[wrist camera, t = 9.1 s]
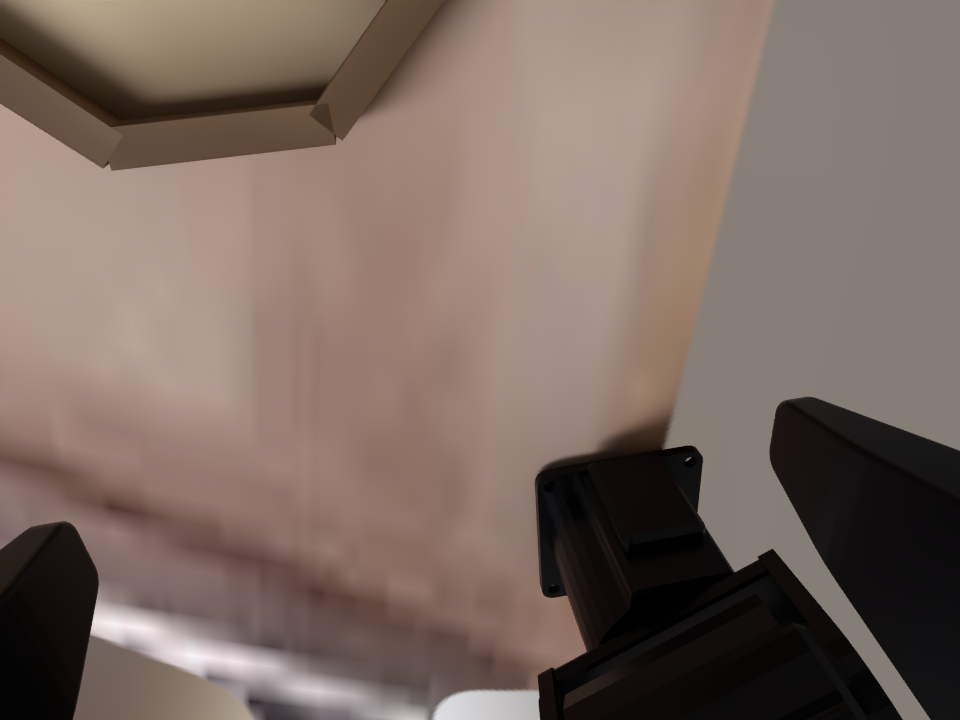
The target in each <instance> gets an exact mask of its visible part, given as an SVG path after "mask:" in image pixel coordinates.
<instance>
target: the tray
mask: <svg viewBox="0 0 960 720" xmlns="http://www.w3.org/2000/svg"><path fill="white" fill-rule="evenodd" d="M443 1H444V0H0V104H2V105H3V106H5V107H7V108H8V109H10V110H11V111H13V112H15V113H16V114H18V115H19V116H21V117H22V118H24V119H26V120H27V121H29V122H30V123H32V124H33V125H35V126H37V127H38V128H40V129H41V130H43V131H45V132H46V133H48V134H49V135H51V136H52V137H54V138H56V139H57V140H59V141H60V142H62V143H64V144H65V145H67V146H68V147H70V148H71V149H73V150H75V151H76V152H78V153H79V154H81V155H82V156H84V157H86V158H87V159H89V160H90V161H92V162H94V163H95V164H97V165H98V166H100V167H101V168H104V167H105V166H107V165H108V164H110V167H111V170H112V171H113V170H122V169H130V168H139V167H147V166H156V165H165V164H173V163H182V162H190V161H199V160H207V159H216V158H225V157H233V156H242V155H250V154H259V153H267V152H276V151H285V150H293V149H302V148H310V147H319V146H327V145H336V136H337V137H338V138H340V139H341V140H342V141H343V139H344V138H345V136H346V135H347V134H348V132H349V131H350V130H351V128H352V127H353V125H354V124H355V123H356V121H357V120H358V118H359V117H360V116H361V114H362V113H363V112H364V110H365V109H366V107H367V106H368V105H369V103H370V102H371V100H372V99H373V98H374V96H375V95H376V94H377V92H378V91H379V89H380V88H381V87H382V85H383V84H384V82H385V81H386V80H387V78H388V77H389V76H390V74H391V73H392V71H393V70H394V69H395V67H396V66H397V64H398V63H399V62H400V60H401V59H402V58H403V56H404V55H405V53H406V52H407V51H408V49H409V48H410V46H411V45H412V44H413V42H414V41H415V40H416V38H417V37H418V35H419V34H420V33H421V31H422V30H423V28H424V27H425V26H426V24H427V23H428V22H429V20H430V19H431V17H432V16H433V15H434V13H435V12H436V10H437V9H438V8H439V6H440V5H441V4H442V2H443Z"/></svg>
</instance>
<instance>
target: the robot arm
mask: <svg viewBox="0 0 960 720" xmlns="http://www.w3.org/2000/svg"><path fill="white" fill-rule="evenodd" d="M690 457H691V458H690ZM687 458H690V459H689V460H688V461H685V460H686V459H687ZM770 461H771V464H772V467H773V469H774V471H775V473H776V475H777V477H778V479H779V481H780V483H781V484H782V486H783V488H784V490H785V492H786V494H787V495H788V497H789V499H790V501H791V503H792V505H793V507H794V509H795V510H796V512H797V514H798V516H799V518H800V520H801V522H802V523H803V525H804V527H805V529H806V531H807V533H808V535H809V536H810V538H811V540H812V542H813V544H814V546H815V548H816V549H817V551H818V553H819V555H820V556H821V558H822V560H823V561H824V563H825V565H826V566H827V568H828V569H829V571H830V572H831V574H832V576H833V577H834V579H835V580H836V582H837V583H838V584H839V586H840V587H841V589H842V590H843V592H844V593H845V595H846V596H847V598H848V599H849V601H850V602H851V603H852V605H853V607H854V608H855V610H856V611H857V612H858V614H859V615H860V617H861V618H862V620H863V621H864V623H865V624H866V626H867V627H868V628H869V630H870V631H871V633H872V634H873V636H874V637H875V639H876V640H877V642H878V643H879V645H880V646H881V648H882V649H883V650H884V652H885V653H886V655H887V656H888V658H889V659H890V661H891V662H892V664H893V665H894V666H895V668H896V669H897V671H898V672H899V674H900V675H901V677H902V678H903V680H904V681H905V683H906V684H907V686H908V687H909V689H910V690H911V692H912V693H913V694H914V696H915V697H916V699H917V700H918V702H919V703H920V705H921V706H922V708H923V709H924V711H925V712H926V713H927V715H928V716H929V718H930V719H931V720H960V451H959V450H956V449H954V448H951V447H948V446H945V445H943V444H940V443H937V442H935V441H932V440H929V439H926V438H924V437H921V436H918V435H915V434H912V433H910V432H907V431H904V430H902V429H899V428H896V427H894V426H891V425H888V424H885V423H882V422H880V421H877V420H874V419H871V418H869V417H866V416H863V415H860V414H858V413H855V412H852V411H850V410H847V409H844V408H841V407H839V406H836V405H833V404H831V403H828V402H825V401H822V400H820V399H817V398H814V397H803V398H797V399H791V400H785V401H783V402H781V403H780V404H779V405H778V407H777V409H776V413H775V419H774V425H773V431H772V438H771V443H770ZM702 463H703V458H702V455H701V454H700V453H699V451H698V450H697V449H696V447H693V446H682V447H677V448H671V449H665V450H659V451H653V452H647V453H641V454H635V455H630V456H624V457H618V458H612V459H606V460H600V461H595V462H589V463H583V464H577V465H571V466H565V467H560V468H554V469H548V470H545V471H542V472H541V473H539V474H538V475H537V477H536V479H535V495H536V515H537V534H538V554H539V574H540V586H541V589H542V592H543V595H545V596H546V597H549V598H555V597H560V596H566V595H567V596H568V599H569V602H570V605H571V607H572V610H573V613H574V616H575V619H576V622H577V624H578V627H579V630H580V633H581V636H582V639H583V641H584V644H585V647H586V650H587V652H586V653H584V654H582V655H580V656H579V657H577V658H575V659H573V660H571V661H569V662H567V663H566V664H564V665H562V666H560V667H558V668H556V669H554V668H550V669H548V670H546V671H544V672H543V673H541V674H539V675H538V685H539V696H540V698H539V712H540V720H902V718H901V716H900V715H899V713H898V712H897V710H896V708H895V707H894V705H893V704H892V702H891V701H890V699H889V698H888V696H887V695H886V693H885V692H884V690H883V689H882V687H881V686H880V684H879V683H878V681H877V680H876V678H875V677H874V675H873V674H872V673H871V671H870V670H869V668H868V667H867V665H866V664H865V663H864V661H863V660H862V658H861V657H860V656H859V654H858V653H857V651H856V650H855V649H854V647H853V646H852V645H851V644H850V642H849V641H848V639H847V638H846V637H845V636H844V634H843V633H842V632H841V630H840V629H839V628H838V627H837V626H836V624H835V623H834V622H833V621H832V619H831V618H830V617H829V616H828V615H827V613H826V612H825V611H824V610H823V609H822V607H821V606H820V605H819V604H818V603H817V601H816V600H815V599H814V598H813V597H812V595H811V594H810V593H809V592H808V591H807V590H806V588H805V587H804V586H803V585H802V583H801V582H800V581H799V580H798V579H797V577H796V576H795V575H794V574H793V573H792V571H791V570H790V569H789V568H788V567H787V565H786V564H785V563H784V562H783V561H782V559H781V558H780V557H779V556H778V555H777V553H776V552H775V551H774V550H773V549H771V550H769V551H768V552H766V553H764V554H762V555H760V556H758V559H759V560H757V561H755V562H753V563H752V564H750V565H748V566H746V567H744V568H742V569H740V570H739V571H737V572H734V570H733V569H732V567H731V566H730V564H729V563H728V561H727V560H726V558H725V557H724V555H723V553H722V552H721V551H720V549H719V547H718V546H717V544H716V543H715V541H714V540H713V538H712V537H711V535H710V534H709V532H708V531H707V529H706V528H705V524H704V522H703V521H702V519H701V518H700V516H699V515H698V513H697V511H698V502H699V492H700V482H701V472H702ZM550 481H554V482H553V483H552V484H550V485H545V484H546V483H547V482H550ZM552 585H554V586H552ZM98 587H99V580H98V573H97V570H96V567H95V565H94V563H93V561H92V559H91V557H90V555H89V553H88V551H87V549H86V547H85V545H84V543H83V541H82V539H81V537H80V535H79V533H78V531H77V530H76V528H75V527H74V526H73V525H72V524H71V523H69V522H65V521H61V522H55V523H49V524H43V525H37V526H33V527H31V528H29V529H27V530H26V531H24V532H23V533H22V534H20V535H19V536H18V537H17V538H15V539H14V540H13V541H11V542H10V543H9V544H7V545H6V546H5V547H3V548H2V549H1V550H0V720H73V716H74V713H75V709H76V704H77V700H78V695H79V691H80V685H81V680H82V675H83V669H84V664H85V658H86V653H87V648H88V642H89V637H90V631H91V626H92V621H93V615H94V610H95V604H96V599H97V594H98Z"/></svg>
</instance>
